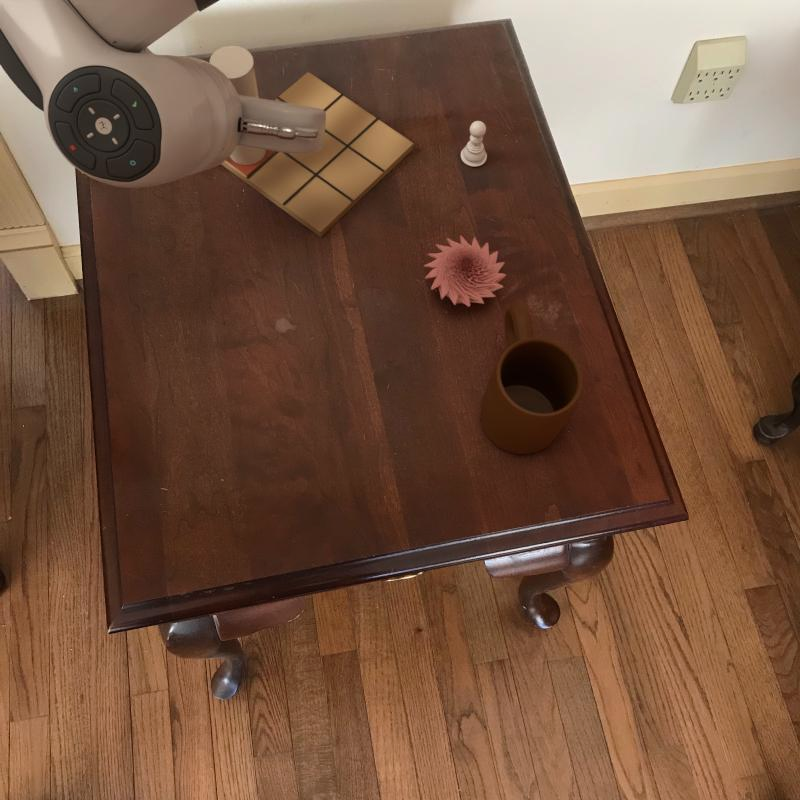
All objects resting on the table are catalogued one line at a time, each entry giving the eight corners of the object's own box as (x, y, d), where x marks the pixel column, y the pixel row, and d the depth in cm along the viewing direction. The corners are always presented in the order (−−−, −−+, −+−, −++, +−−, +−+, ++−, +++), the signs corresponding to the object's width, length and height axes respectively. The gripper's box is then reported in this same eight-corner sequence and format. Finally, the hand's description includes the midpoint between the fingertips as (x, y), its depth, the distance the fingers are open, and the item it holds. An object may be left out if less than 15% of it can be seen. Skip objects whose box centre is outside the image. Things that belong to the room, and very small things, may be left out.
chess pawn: (469, 171, 89) (476, 139, 84) (455, 153, 90) (460, 120, 85) (491, 161, 89) (499, 128, 85) (477, 142, 90) (483, 109, 86)
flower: (498, 328, 81) (508, 299, 76) (417, 320, 81) (421, 290, 76) (502, 260, 85) (511, 228, 79) (424, 251, 84) (428, 219, 79)
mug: (462, 346, 80) (475, 296, 72) (538, 336, 81) (560, 285, 73) (488, 462, 76) (505, 424, 67) (568, 451, 77) (595, 411, 68)
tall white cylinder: (219, 151, 87) (200, 62, 76) (246, 128, 88) (230, 38, 77) (247, 171, 86) (232, 85, 75) (274, 148, 87) (262, 60, 76)
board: (213, 159, 88) (211, 151, 87) (308, 78, 93) (308, 70, 92) (320, 237, 85) (320, 231, 84) (413, 149, 90) (414, 142, 89)
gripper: (317, 95, 65) (341, 93, 78) (60, 53, 65) (127, 58, 78) (308, 177, 67) (333, 162, 80) (59, 136, 68) (125, 128, 80)
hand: (229, 110), depth 79 cm, fingers open, 8 cm apart
